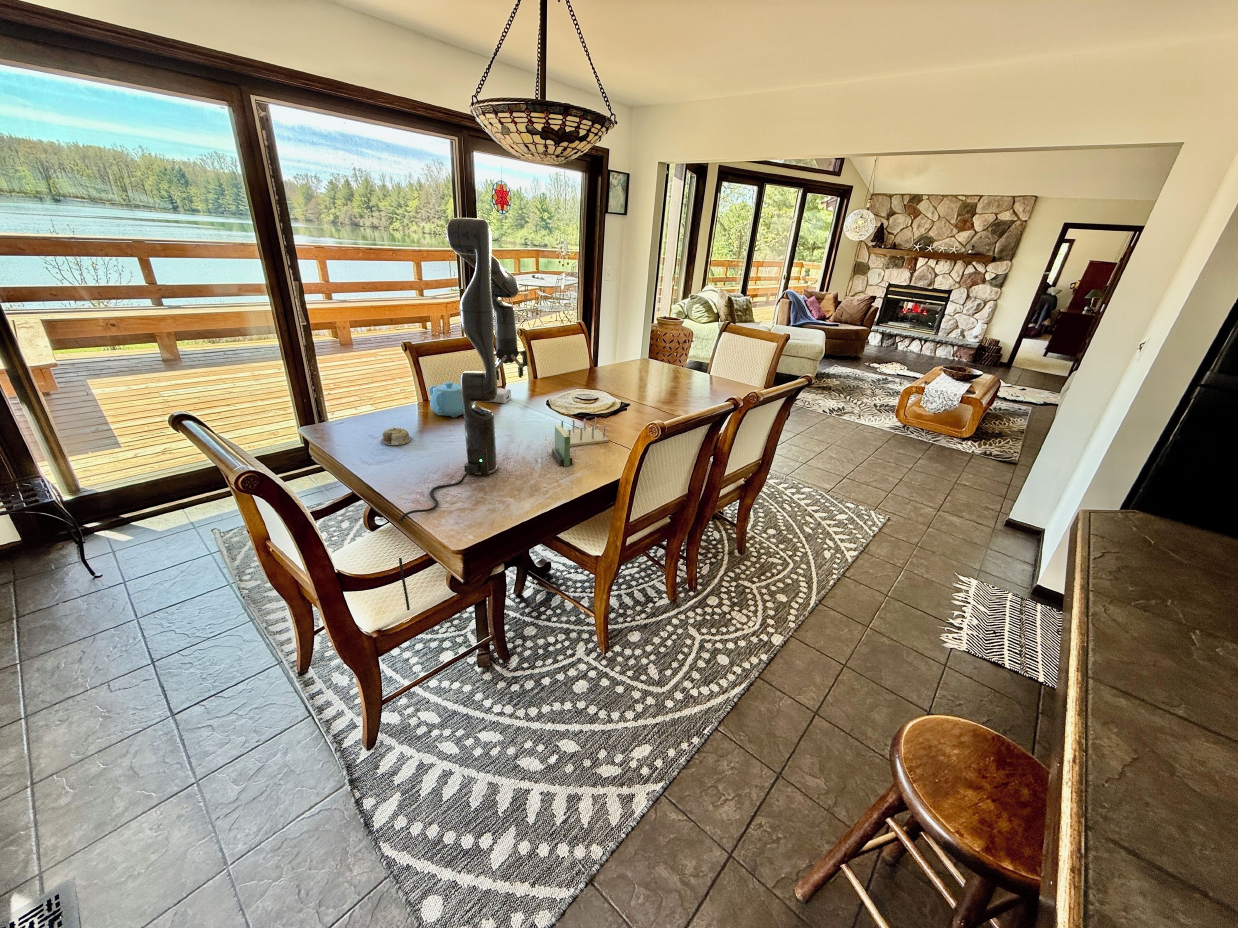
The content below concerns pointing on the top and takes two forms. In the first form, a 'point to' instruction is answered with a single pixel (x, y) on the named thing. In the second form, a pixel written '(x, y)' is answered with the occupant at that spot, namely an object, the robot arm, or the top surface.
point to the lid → (562, 444)
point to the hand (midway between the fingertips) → (509, 378)
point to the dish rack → (585, 435)
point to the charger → (503, 395)
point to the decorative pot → (446, 399)
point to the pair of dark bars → (558, 458)
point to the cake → (395, 436)
